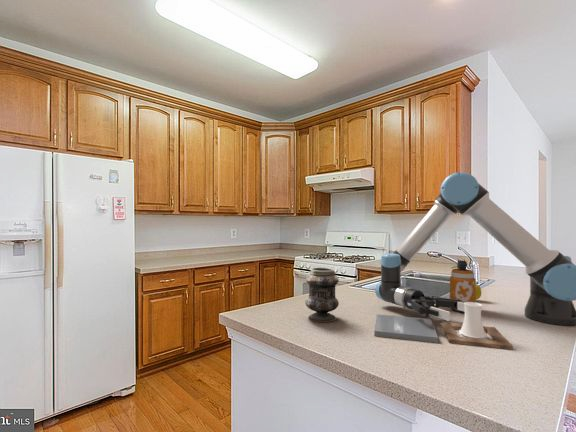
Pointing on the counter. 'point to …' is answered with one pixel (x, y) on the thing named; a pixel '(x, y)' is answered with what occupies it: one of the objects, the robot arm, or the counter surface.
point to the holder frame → (497, 337)
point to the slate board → (405, 328)
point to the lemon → (478, 292)
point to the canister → (462, 284)
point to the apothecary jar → (322, 294)
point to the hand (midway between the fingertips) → (463, 313)
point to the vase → (472, 322)
